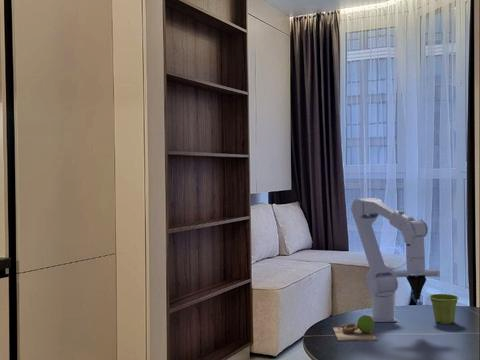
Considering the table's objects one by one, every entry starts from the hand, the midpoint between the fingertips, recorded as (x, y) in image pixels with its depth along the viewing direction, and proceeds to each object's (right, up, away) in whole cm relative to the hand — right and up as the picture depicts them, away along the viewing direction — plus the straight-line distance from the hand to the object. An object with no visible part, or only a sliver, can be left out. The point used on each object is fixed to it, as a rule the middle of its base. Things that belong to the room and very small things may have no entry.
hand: (416, 299), depth 168 cm
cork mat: (-21, -11, -2) cm, 24 cm away
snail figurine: (-14, -7, -2) cm, 16 cm away
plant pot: (+13, -10, +10) cm, 19 cm away
